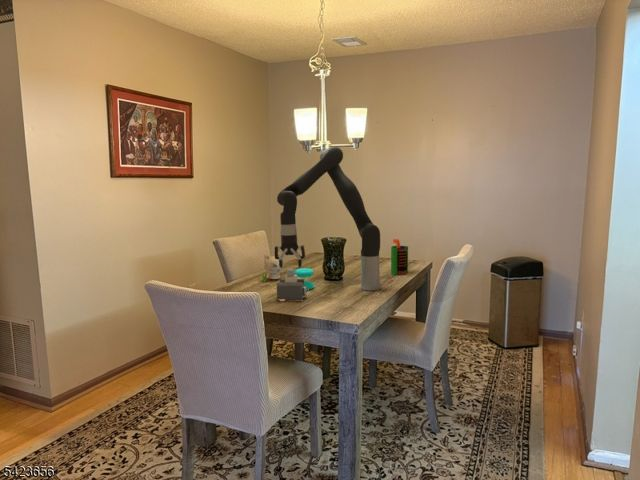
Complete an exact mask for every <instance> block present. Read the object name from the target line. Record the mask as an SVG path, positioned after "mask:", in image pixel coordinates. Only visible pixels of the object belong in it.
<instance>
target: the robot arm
mask: <svg viewBox="0 0 640 480" xmlns="http://www.w3.org/2000/svg"><path fill="white" fill-rule="evenodd" d="M343 158H344V152H343V151H342V149H341V148H339V147H338V146H330V147H328V148H326V149H324V150H322V151H321V152H320V155H319V161H317V163H315V164H314V165H313V166H311V167H309V168H308V169H307V170H306V171H304V172H303V173H302V174H301V175H299V177H298V178H296V179H295V180H294V181H293V182H292V183H291V184H289V185H288V186H286V187H284V189H282V190H281V191H279V193H278V195H277V197H276V200H277V201H276V202H277V203H278V205H280V206H283V208H282V212H281V213H280V232H279V233H280V242H281V243H280V245H279V246H278V245H276V246H274V256H275V259H278V260H279V266H280V267H281V268H283V265H284V261H283V257H284V256H295V257H296V258H297V259H298V260H297V261H298V262H297V264H298V269H301V267H302V266H303V262H302V260H303V259H305V258H306V251H305V245H304V244H302V245H298V233H297V232H298V231H297V223H296V222H297V221H296V212H297V206H298V197H299V196H301V195H303V194H304V193H306V191H308V190H309V189H310V188H311V187H312V186H313V185H315V183H317V182H318V181H319V179H321V178H322V176H324V175H325V174H326V173H327V175H328V176H329V177H330V179H331V181H332V183H333V185H334V187H335V188H336V191H337V192H338V195H339V197H340V199H341V201H342V203H343V204H344V206H345V208H346V209H347V211H348V213H349V214H350V216H351V217H352V220H353V222H354V223H355V226H356V228H357V230H358V234H359V236H360V238H361V250H360V273H361V275H360V277H361V280H360V281H361V283H360V284H361V286H360V288H361V290H363V291H378V290H379V291H380V289H381V288H380V287H381V285H380V284H381V282H380V281H381V280H380V277H381V275H380V274H381V272H380V250H381V232H380V228H379V227H378V225H375V224H374V223H373V222H372V220H371V218H370V217H369V214H368V213H367V211H366V208H365V204H364V201H363V198H362V196H361V193H360V192H359V189H358V187H357V186H356V185H355V183H354V181H352V180H351V179H350V178H349V177H348V176H347V175H346V174H345V173H344V172H343V170H342V166H341V165H340V164H341V162H342V161H343V160H344V159H343ZM298 250H300V251H301V255H300V253H299V252H298ZM280 251H282V253H280V257H279V256H278V253H279V252H280ZM283 269H284V268H283Z"/></svg>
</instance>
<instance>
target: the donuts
mask: <svg viewBox="0 0 640 480" xmlns="http://www.w3.org/2000/svg"><path fill="white" fill-rule="evenodd" d="M314 274H315V272H314V270H313V269H312V268H305V267H304V268H302V267H300V268H297V269H295V275H297V278H300V279H305V278H310V277H312V276H313V275H314ZM304 282H305V287H306V288H307V291H309V290H308V289H310V290H312V288H313V289H314V287H315V284H314V283H313V282H312V281H311V280H304Z"/></svg>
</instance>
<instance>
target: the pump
mask: <svg viewBox="0 0 640 480" xmlns="http://www.w3.org/2000/svg"><path fill="white" fill-rule="evenodd" d="M295 270H296V269H295V268H288V269H286V274H285V276H284V279H285V283H297V279H298V277H297V275H295Z"/></svg>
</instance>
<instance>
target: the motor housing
mask: <svg viewBox="0 0 640 480" xmlns="http://www.w3.org/2000/svg"><path fill="white" fill-rule="evenodd" d="M304 281H305V278H297V283H285V278H281V279H280V280H279V282H276V300H277V299H285V300H304V299H305V297H306V296H307V293H308V290H307V288H306V287H305V282H304ZM304 296H305V297H304ZM303 298H304V299H303Z"/></svg>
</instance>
